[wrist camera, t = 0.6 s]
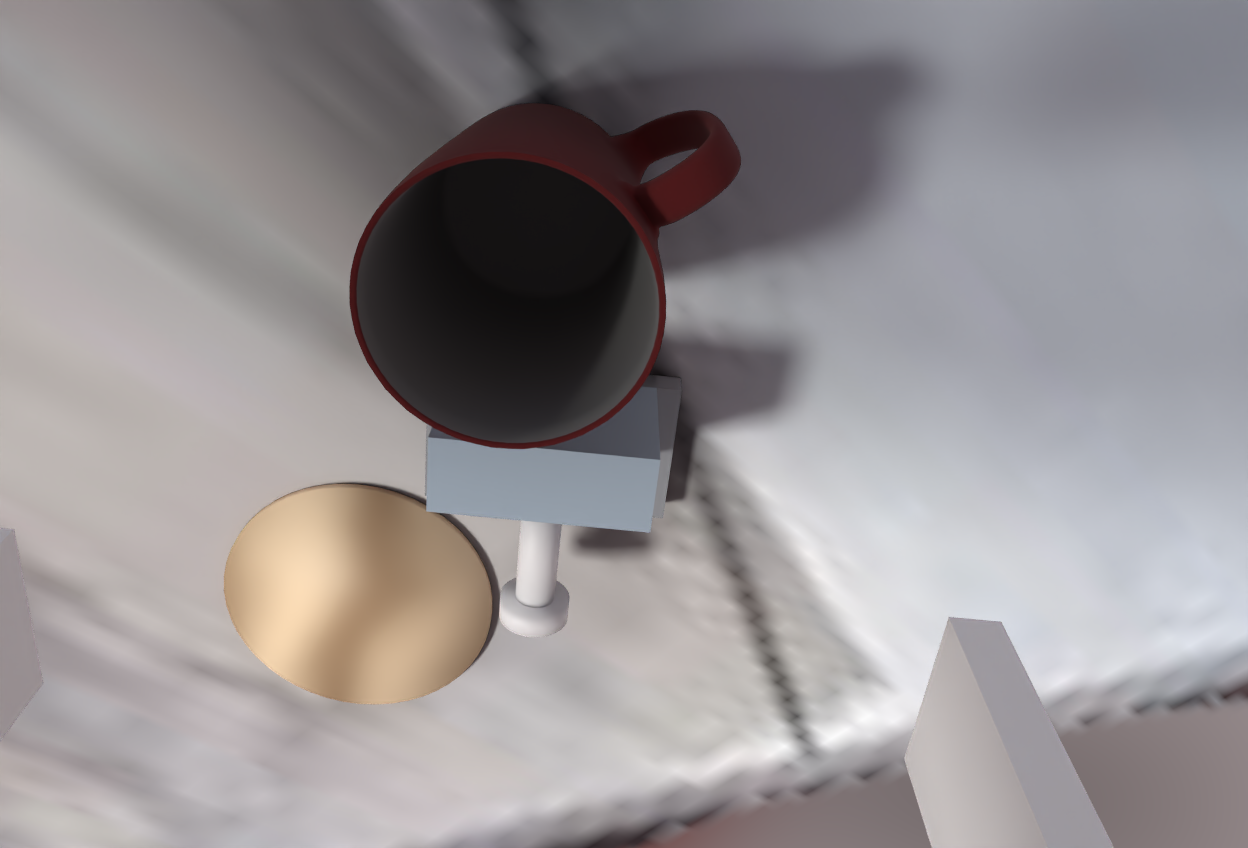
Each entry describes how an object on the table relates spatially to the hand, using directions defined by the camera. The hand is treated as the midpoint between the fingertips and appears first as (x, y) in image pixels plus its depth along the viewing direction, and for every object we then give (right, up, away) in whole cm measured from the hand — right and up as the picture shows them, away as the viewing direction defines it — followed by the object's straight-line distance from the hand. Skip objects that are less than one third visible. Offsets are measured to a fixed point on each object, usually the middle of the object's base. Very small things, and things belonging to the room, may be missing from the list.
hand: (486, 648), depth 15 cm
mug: (0, +12, +24) cm, 27 cm away
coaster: (-10, -5, +32) cm, 34 cm away
